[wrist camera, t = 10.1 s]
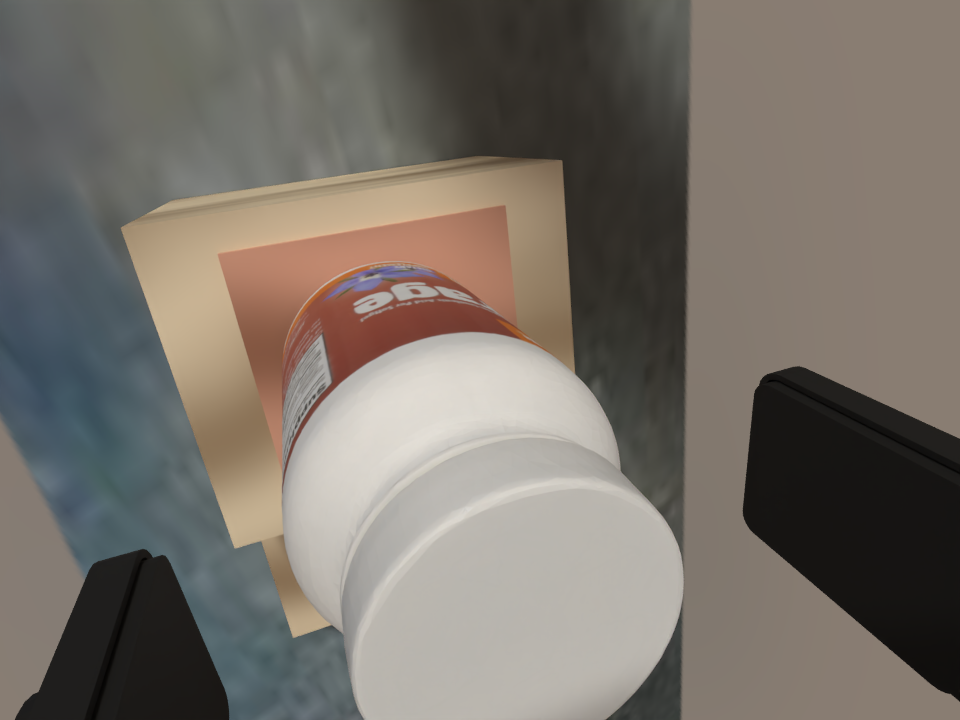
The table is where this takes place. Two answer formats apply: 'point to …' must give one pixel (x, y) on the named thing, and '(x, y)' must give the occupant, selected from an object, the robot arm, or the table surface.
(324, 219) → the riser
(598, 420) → the pill bottle
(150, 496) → the table surface
